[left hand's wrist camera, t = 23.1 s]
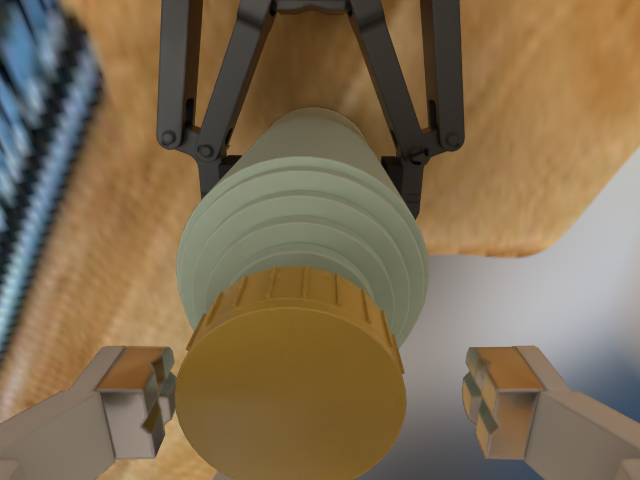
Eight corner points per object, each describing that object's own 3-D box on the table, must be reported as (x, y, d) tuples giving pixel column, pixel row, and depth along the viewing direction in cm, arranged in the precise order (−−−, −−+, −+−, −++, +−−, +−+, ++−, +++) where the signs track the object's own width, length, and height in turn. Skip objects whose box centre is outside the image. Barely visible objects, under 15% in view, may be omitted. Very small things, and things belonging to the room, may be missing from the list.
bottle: (319, 80, 28) (308, 112, 7) (394, 172, 30) (556, 404, 9) (231, 161, 30) (22, 372, 9) (308, 242, 32) (282, 566, 11)
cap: (416, 404, 11) (433, 466, 9) (241, 449, 11) (226, 515, 10) (362, 236, 9) (371, 274, 8) (163, 298, 10) (129, 345, 8)
